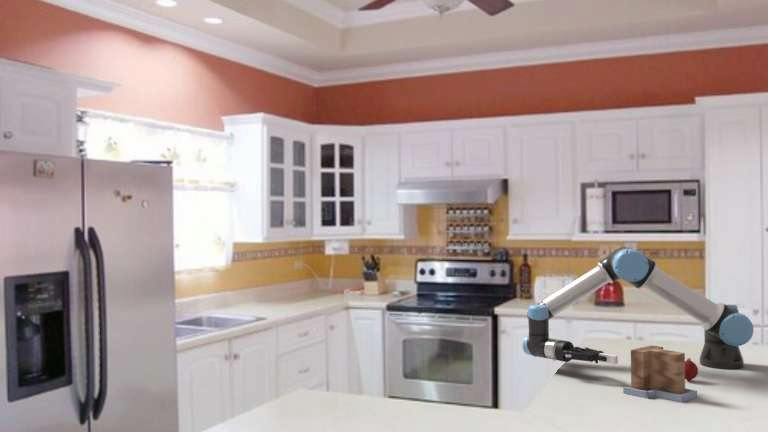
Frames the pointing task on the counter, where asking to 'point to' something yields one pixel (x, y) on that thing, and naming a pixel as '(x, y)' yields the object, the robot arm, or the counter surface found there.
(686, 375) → the onion
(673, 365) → the tee block
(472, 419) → the counter surface
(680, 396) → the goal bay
